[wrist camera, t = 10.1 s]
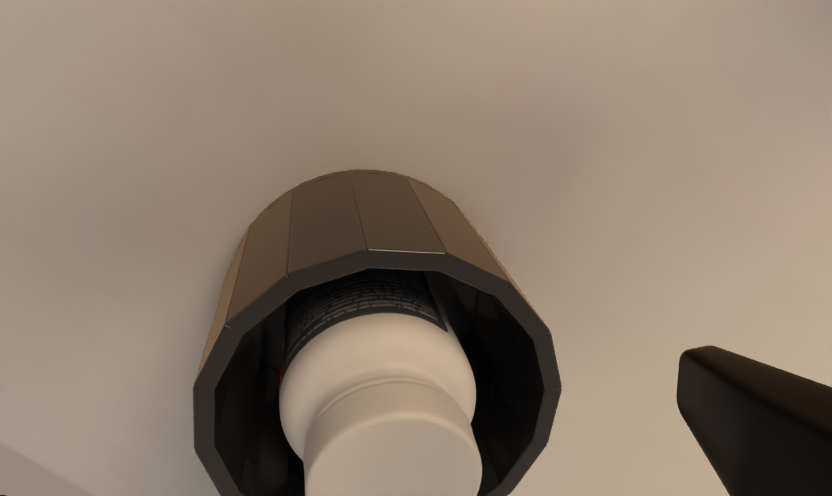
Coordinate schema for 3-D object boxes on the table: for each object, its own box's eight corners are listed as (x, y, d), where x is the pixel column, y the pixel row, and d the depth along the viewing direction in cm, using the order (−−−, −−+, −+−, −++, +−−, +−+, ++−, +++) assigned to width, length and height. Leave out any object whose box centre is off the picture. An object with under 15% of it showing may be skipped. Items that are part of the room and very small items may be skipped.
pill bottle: (255, 279, 20) (219, 470, 12) (386, 201, 20) (440, 341, 12) (338, 384, 22) (356, 604, 14) (457, 315, 22) (545, 500, 14)
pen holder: (347, 439, 24) (362, 598, 17) (169, 287, 20) (105, 420, 14) (532, 299, 23) (619, 416, 16) (381, 111, 19) (418, 167, 13)
